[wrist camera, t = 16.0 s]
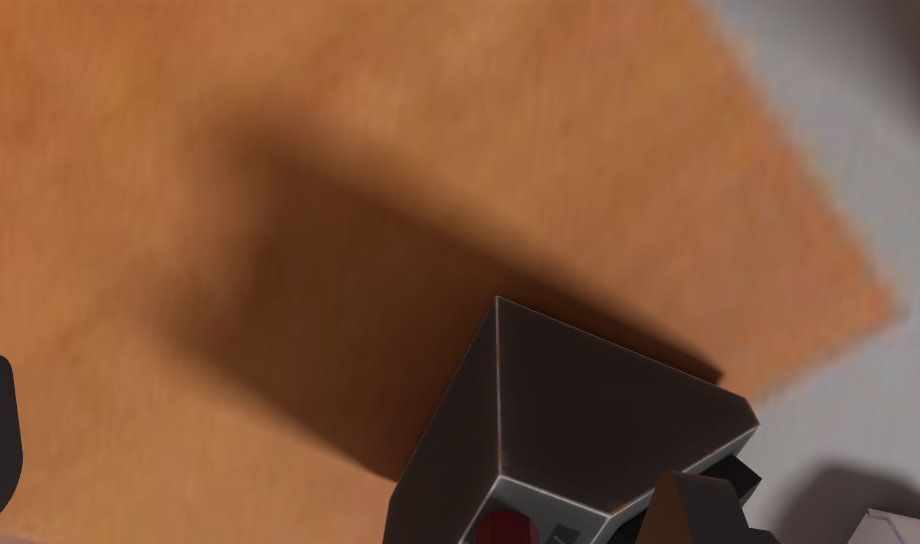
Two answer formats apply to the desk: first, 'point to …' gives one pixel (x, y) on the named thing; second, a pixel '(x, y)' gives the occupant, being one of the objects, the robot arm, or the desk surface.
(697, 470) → the voltmeter
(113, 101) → the desk surface
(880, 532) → the diorama
